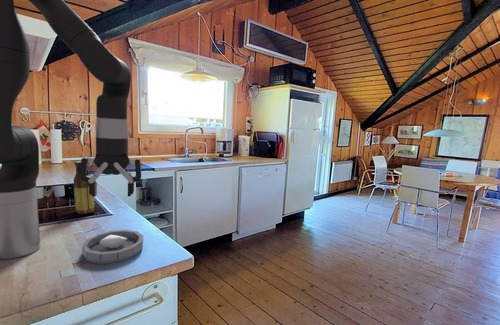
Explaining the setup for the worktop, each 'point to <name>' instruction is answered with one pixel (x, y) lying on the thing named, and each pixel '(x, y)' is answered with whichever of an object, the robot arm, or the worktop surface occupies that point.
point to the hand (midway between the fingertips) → (112, 196)
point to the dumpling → (113, 241)
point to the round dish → (112, 255)
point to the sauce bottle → (82, 193)
